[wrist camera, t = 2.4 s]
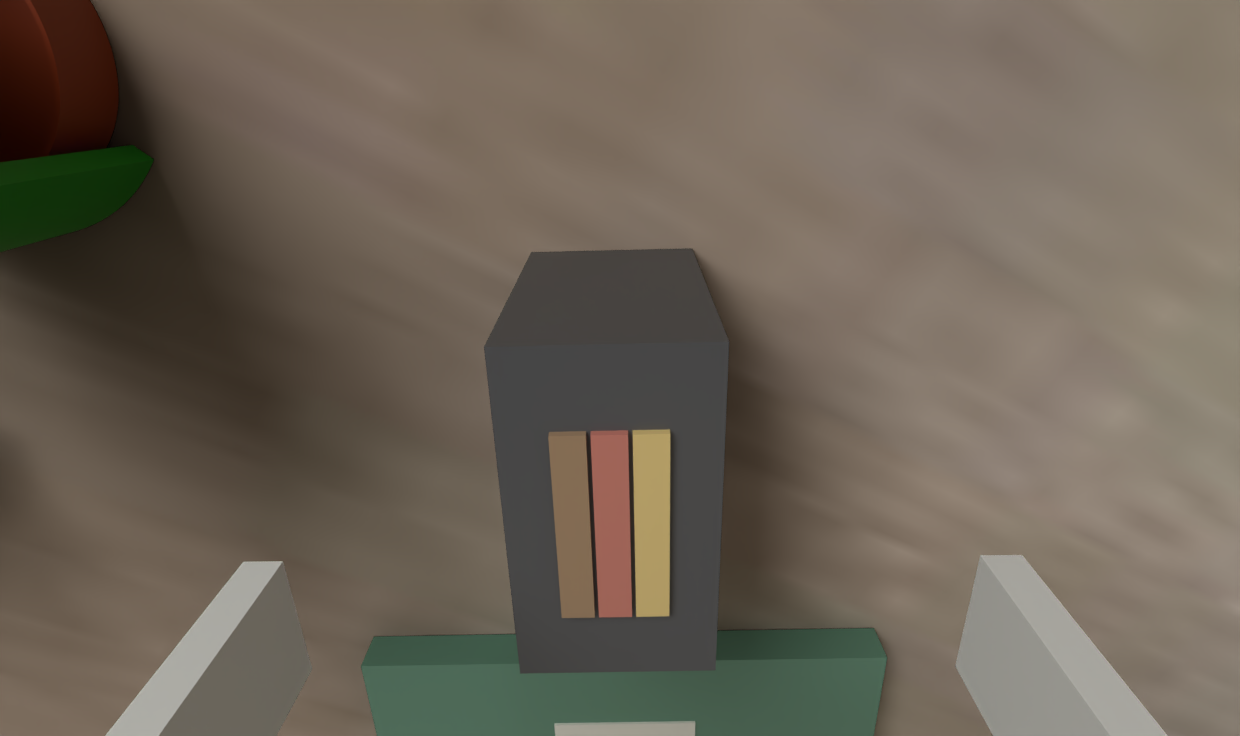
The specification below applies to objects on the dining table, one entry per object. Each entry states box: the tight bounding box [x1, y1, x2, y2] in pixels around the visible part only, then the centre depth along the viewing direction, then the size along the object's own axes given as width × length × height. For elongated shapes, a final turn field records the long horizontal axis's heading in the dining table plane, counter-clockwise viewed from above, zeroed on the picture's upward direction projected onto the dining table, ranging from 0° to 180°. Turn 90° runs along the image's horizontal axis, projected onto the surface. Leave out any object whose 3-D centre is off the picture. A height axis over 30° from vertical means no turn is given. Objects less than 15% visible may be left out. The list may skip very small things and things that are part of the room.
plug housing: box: [484, 249, 729, 674], centre depth 19 cm, size 5×9×8 cm, turn 1°
